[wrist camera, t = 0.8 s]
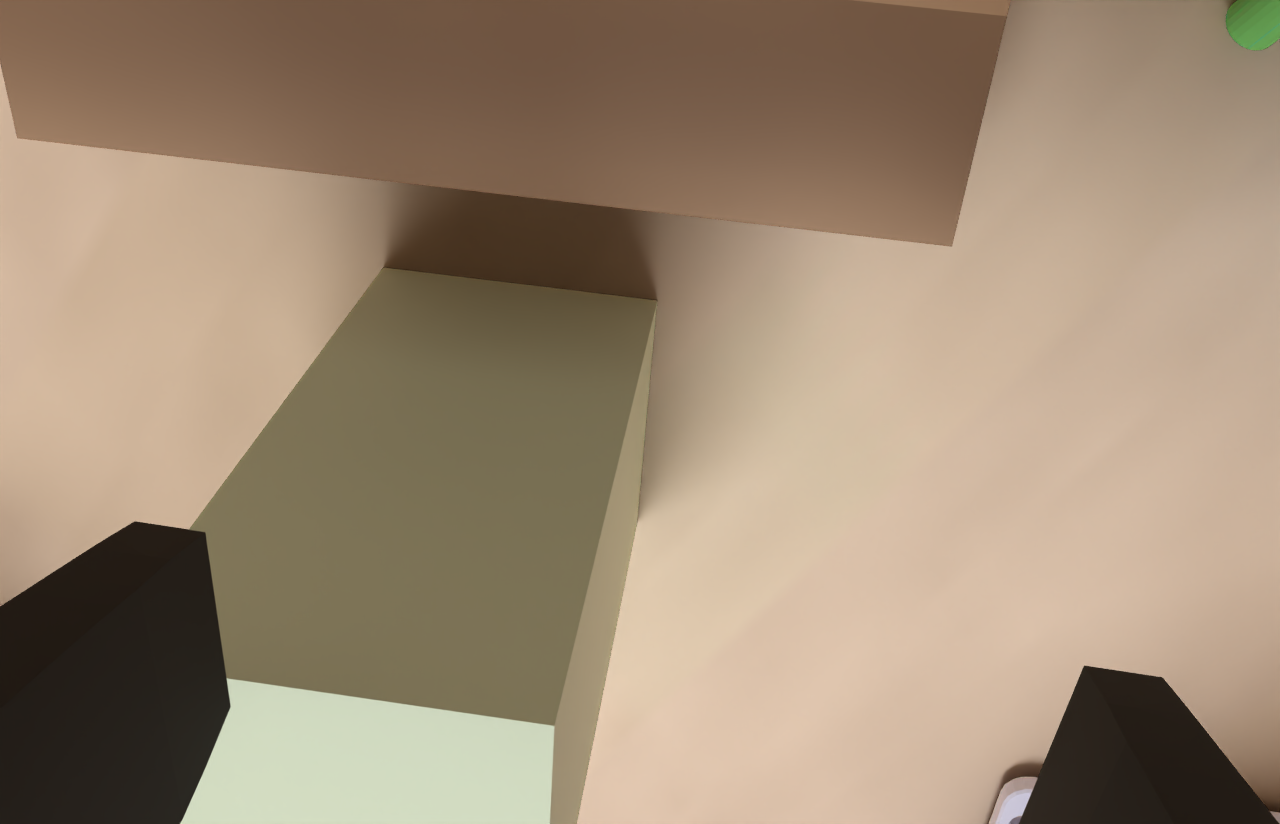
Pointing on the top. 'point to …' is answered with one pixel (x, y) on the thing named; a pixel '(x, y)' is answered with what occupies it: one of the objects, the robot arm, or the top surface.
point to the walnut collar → (540, 97)
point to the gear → (1254, 23)
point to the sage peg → (430, 560)
